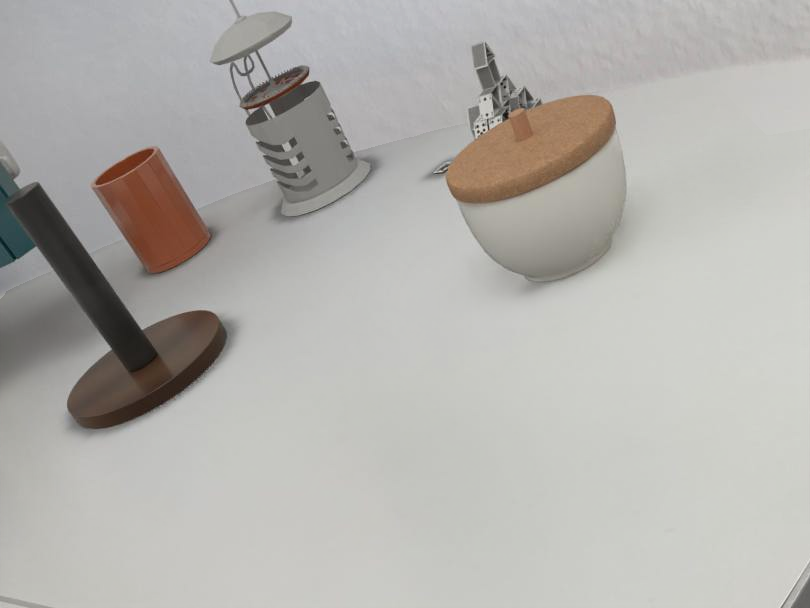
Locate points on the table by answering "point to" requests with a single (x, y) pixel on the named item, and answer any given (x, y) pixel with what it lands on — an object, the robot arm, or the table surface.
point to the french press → (291, 120)
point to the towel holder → (117, 328)
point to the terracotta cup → (151, 210)
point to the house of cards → (493, 95)
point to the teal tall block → (10, 225)
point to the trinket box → (544, 187)
